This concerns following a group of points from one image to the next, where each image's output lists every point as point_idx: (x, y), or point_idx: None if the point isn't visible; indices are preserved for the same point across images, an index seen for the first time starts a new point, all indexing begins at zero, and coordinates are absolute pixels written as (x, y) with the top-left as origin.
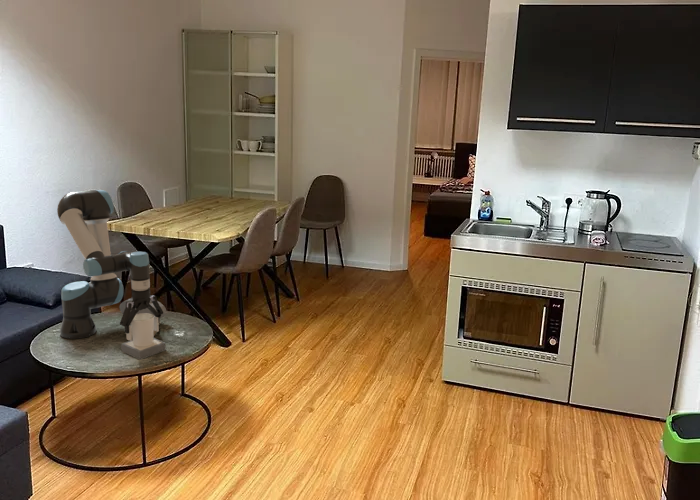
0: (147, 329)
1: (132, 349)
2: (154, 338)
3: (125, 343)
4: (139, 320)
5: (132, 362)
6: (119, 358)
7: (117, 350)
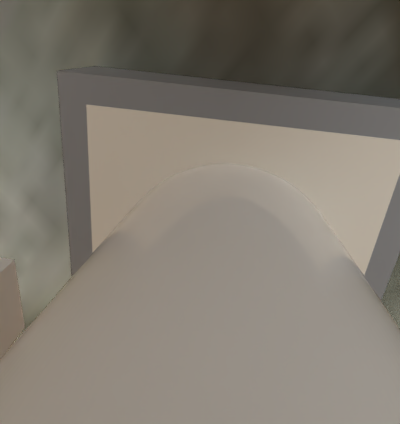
0: None
1: (75, 261)
2: (391, 262)
3: (95, 109)
4: (361, 372)
5: (40, 296)
6: (4, 175)
7: (79, 6)
